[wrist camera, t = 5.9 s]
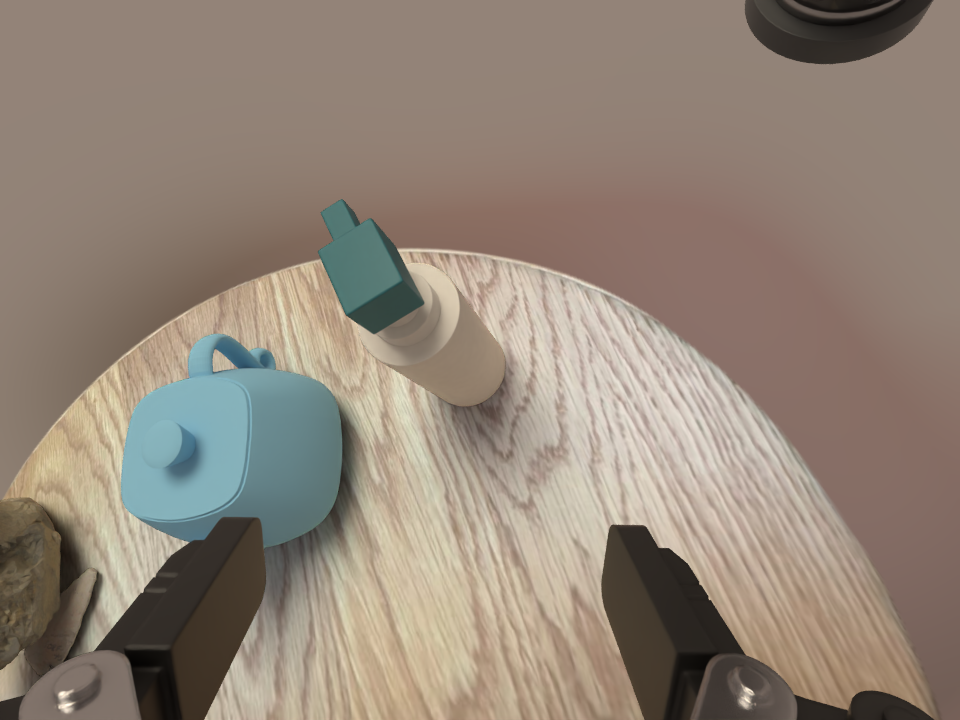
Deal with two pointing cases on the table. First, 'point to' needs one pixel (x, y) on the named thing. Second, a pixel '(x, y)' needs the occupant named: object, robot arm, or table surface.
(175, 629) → the robot arm
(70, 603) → the arrowhead
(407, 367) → the spray bottle
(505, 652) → the table surface
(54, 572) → the fossil
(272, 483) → the teapot
